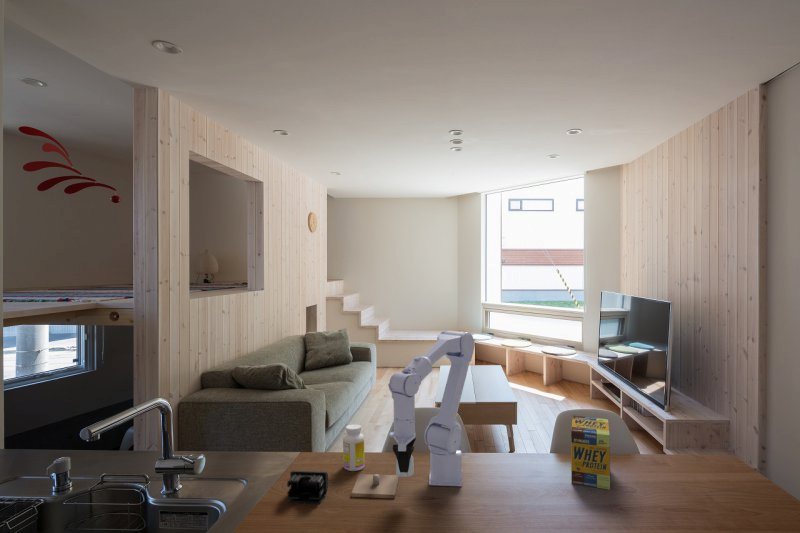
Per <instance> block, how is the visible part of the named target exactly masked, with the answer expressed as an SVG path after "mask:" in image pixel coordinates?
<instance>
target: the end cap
mask: <svg viewBox="0 0 800 533" xmlns="http://www.w3.org/2000/svg"><path fill="white" fill-rule="evenodd" d="M286 486H287V488H289V489H288V491H287V492H286V494H287V498H288V500H287V501H288V502H289V504H304V503H305V504H311V505H321V503H322V502H323V500H324V498H325V497H326V496H325V495H327V492H328V487H329V474H328V471H320V470H319V471H318V470H317V471H316V470H313V471H312V470H291V471H290V478H289V480H288V481H287V483H286ZM305 504H304V505H305Z"/></svg>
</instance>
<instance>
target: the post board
mask: <svg viewBox="0 0 800 533" xmlns="http://www.w3.org/2000/svg"><path fill="white" fill-rule="evenodd" d="M399 481H400V476H398V475H396V474H377V473H376V474H370V473H367V474H365V473H359V474H358V476H357V479H356V481H355V483H354V486H353V488H352V491H351V494H350V495H351V497H352V498H374V499H375V498H376V499H395V498H396V494H397V490H398V485H399Z"/></svg>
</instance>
